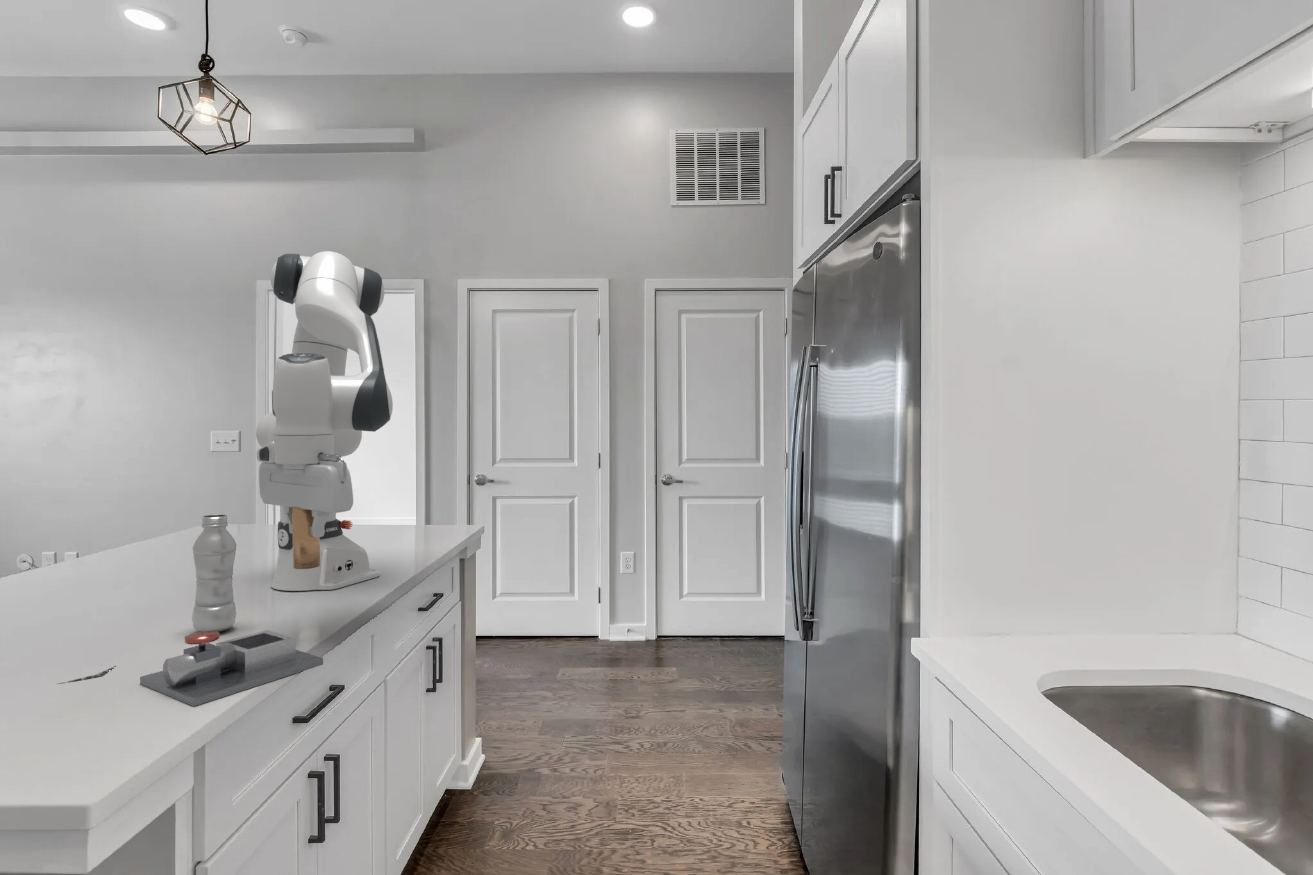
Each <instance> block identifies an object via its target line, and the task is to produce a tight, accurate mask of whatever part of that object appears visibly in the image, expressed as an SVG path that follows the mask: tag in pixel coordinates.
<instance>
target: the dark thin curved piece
mask: <svg viewBox="0 0 1313 875" xmlns="http://www.w3.org/2000/svg"><path fill="white" fill-rule="evenodd" d="M114 667H115V668H116V667H117V666H116V665H114V666H112V667H110V668H108V669H105V670H103V671H101V672H99V673H95V674H92V675H88V676H85V677H80V678H76V679H72V680H68V681H64V682H59V683H57V685H62V684H63V685H64V684H68V683H69V684H70V683H74V682H75V683H76V682H80V681H87V680H92V679H98V678H103V677H104V676H106V675H107V674H108V672H109V670H111V671H113V670H114V669H115V668H114ZM112 669H113V670H112ZM109 673H110V672H109Z"/></svg>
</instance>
